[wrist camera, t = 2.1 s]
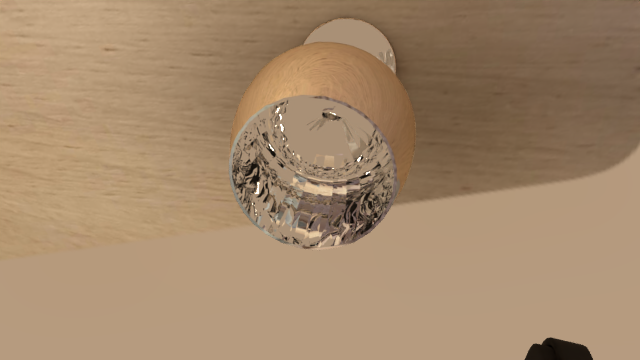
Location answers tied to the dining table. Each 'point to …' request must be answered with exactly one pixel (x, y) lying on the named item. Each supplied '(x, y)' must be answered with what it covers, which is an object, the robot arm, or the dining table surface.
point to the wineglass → (323, 138)
